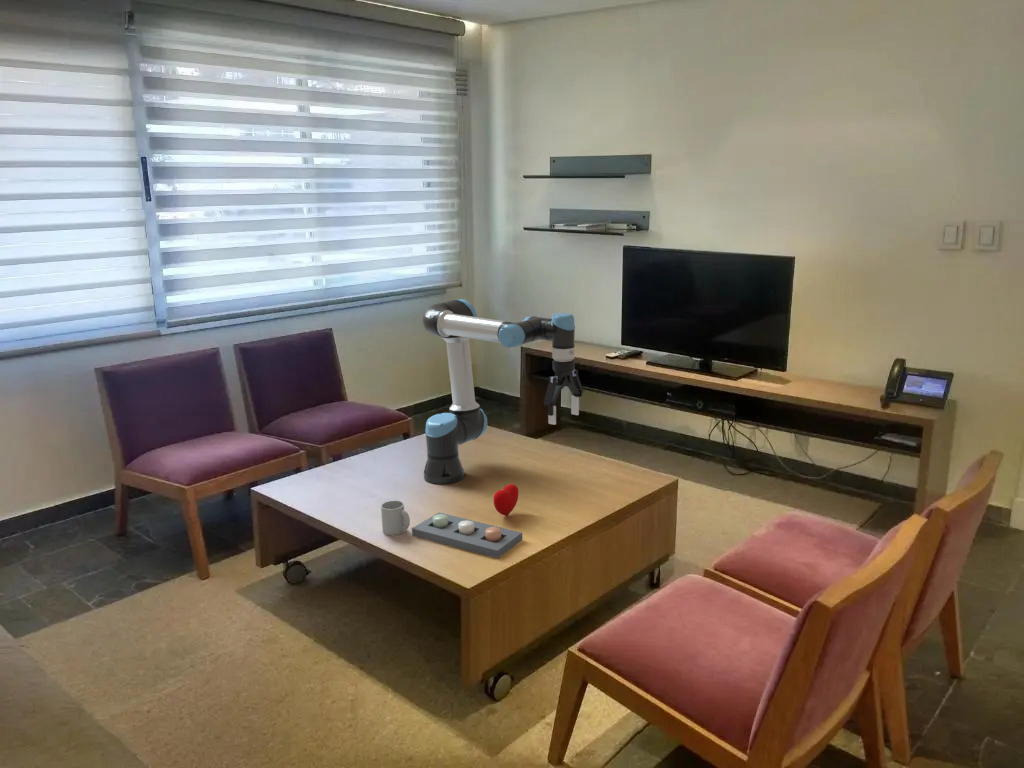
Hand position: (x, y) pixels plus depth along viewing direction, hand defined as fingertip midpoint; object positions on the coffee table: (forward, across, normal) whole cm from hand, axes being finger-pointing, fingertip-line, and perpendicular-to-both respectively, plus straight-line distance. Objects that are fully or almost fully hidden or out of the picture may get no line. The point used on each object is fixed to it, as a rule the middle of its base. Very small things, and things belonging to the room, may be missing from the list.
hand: (563, 419), depth 275 cm
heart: (+27, -28, +3) cm, 39 cm away
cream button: (+25, -48, +3) cm, 54 cm away
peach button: (+25, -47, -7) cm, 54 cm away
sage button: (+25, -49, +13) cm, 57 cm away
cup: (+27, -58, +24) cm, 68 cm away
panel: (+27, -48, +3) cm, 55 cm away
